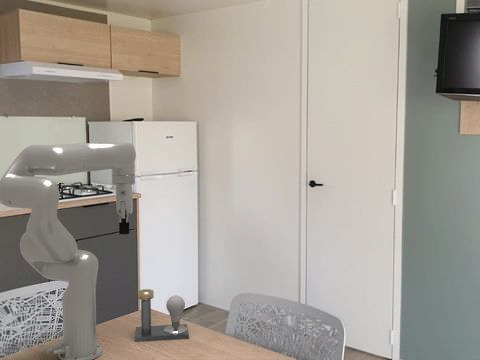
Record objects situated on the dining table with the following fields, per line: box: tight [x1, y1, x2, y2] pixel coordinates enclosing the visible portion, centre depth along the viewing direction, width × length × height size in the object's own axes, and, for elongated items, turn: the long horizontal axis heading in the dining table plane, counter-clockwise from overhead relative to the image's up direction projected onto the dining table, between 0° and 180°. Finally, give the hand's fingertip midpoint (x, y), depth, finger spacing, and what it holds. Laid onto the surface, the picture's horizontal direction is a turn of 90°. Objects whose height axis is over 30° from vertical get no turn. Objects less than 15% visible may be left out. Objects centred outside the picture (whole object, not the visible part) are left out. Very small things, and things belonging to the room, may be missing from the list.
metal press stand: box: [134, 299, 190, 343], centre depth 174 cm, size 17×9×12 cm, turn 99°
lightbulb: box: [166, 295, 186, 329], centre depth 175 cm, size 6×6×11 cm
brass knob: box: [137, 288, 155, 301], centre depth 173 cm, size 5×5×6 cm
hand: (124, 233), depth 179 cm, fingers closed
